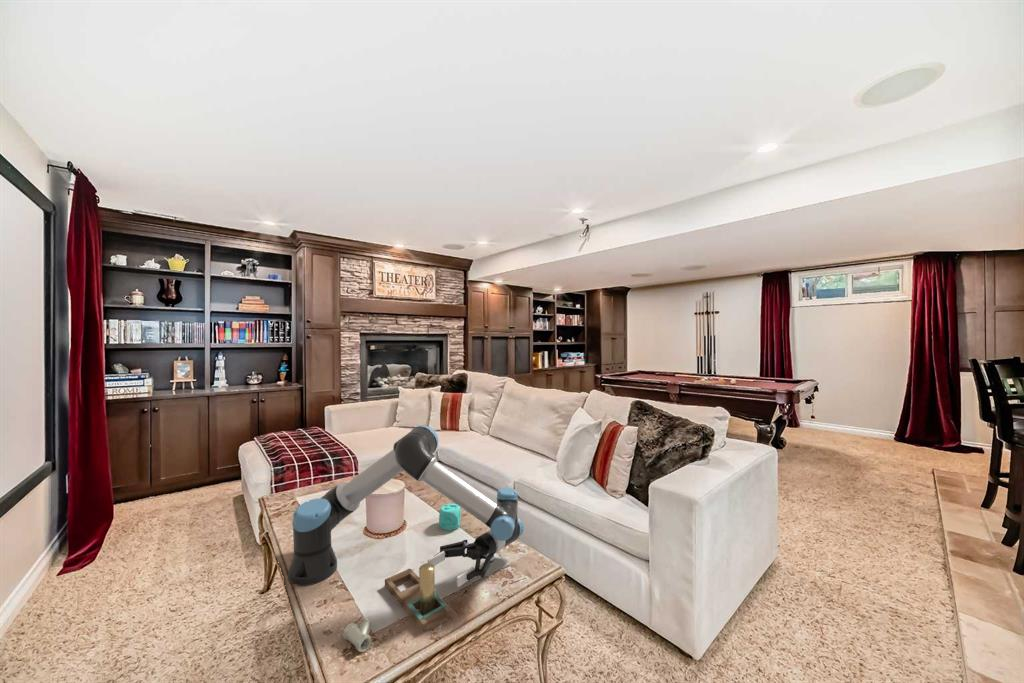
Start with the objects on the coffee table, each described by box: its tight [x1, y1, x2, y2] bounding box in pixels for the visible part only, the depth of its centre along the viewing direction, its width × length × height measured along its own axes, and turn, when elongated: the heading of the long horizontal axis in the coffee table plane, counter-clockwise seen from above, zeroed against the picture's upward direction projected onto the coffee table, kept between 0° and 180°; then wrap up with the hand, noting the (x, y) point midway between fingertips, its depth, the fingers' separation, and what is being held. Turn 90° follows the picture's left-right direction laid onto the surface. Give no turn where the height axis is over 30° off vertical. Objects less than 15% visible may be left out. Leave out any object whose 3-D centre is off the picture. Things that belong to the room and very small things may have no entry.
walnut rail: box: [384, 568, 452, 634], centre depth 123 cm, size 26×9×3 cm, turn 41°
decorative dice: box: [438, 503, 462, 531], centre depth 170 cm, size 8×8×8 cm
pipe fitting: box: [342, 619, 372, 653], centre depth 109 cm, size 8×4×7 cm
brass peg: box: [418, 562, 436, 616], centre depth 118 cm, size 4×4×14 cm
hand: (442, 573), depth 122 cm, fingers open, 13 cm apart
